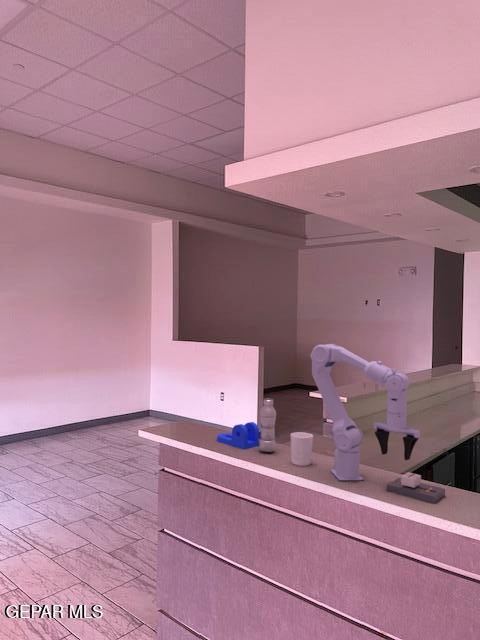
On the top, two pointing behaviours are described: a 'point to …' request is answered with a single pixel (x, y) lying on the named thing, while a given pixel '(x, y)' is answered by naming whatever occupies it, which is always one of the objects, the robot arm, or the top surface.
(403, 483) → the fader knob
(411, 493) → the strip
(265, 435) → the plastic bottle
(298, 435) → the white cup
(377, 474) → the top surface
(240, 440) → the bracket
